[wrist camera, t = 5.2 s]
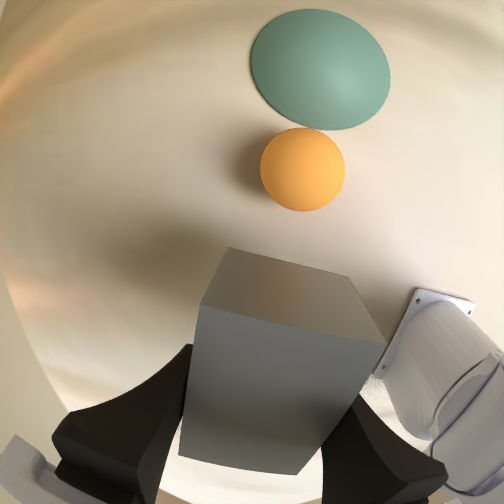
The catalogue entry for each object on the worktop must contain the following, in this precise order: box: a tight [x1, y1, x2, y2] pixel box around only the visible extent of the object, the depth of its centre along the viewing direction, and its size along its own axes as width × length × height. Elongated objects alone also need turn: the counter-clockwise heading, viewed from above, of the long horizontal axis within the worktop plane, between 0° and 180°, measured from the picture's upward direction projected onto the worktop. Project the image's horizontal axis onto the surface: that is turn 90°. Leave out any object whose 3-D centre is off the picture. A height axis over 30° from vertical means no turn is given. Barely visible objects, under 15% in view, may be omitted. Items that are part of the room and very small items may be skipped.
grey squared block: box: [178, 247, 388, 475], centre depth 12 cm, size 9×6×6 cm, turn 166°
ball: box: [260, 128, 345, 212], centre depth 16 cm, size 5×5×5 cm
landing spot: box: [251, 9, 390, 130], centre depth 16 cm, size 10×10×1 cm
